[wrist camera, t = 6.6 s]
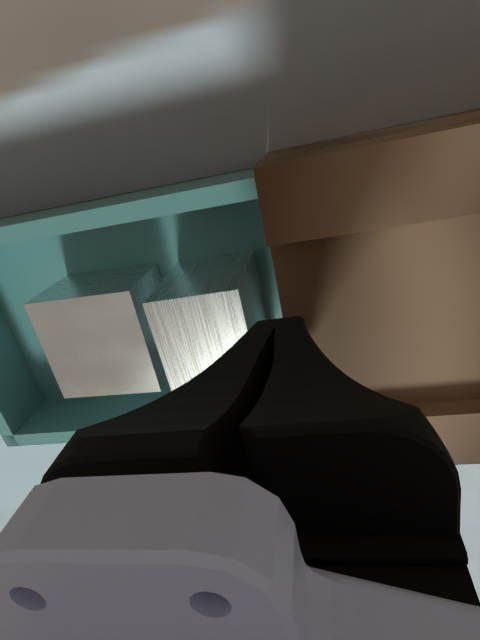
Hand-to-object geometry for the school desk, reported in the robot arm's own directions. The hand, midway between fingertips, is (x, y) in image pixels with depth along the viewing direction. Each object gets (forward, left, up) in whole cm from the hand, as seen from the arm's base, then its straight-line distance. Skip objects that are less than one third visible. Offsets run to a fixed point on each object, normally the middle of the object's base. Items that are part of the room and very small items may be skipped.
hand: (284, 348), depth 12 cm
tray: (+7, 0, -5) cm, 8 cm away
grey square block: (+4, 0, -2) cm, 5 cm away
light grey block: (+7, 0, -1) cm, 7 cm away
